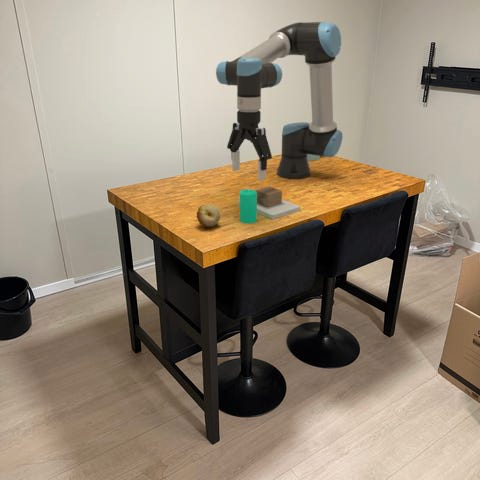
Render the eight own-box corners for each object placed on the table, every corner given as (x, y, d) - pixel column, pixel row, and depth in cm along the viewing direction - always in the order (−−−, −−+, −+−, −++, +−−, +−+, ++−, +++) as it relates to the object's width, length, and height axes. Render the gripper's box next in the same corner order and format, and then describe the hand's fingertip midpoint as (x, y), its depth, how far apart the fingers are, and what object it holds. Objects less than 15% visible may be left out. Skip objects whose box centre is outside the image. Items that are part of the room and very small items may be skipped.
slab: (237, 204, 177) (237, 200, 177) (264, 196, 185) (264, 192, 184) (272, 219, 163) (272, 215, 162) (300, 210, 171) (300, 206, 170)
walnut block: (255, 202, 174) (255, 190, 172) (269, 198, 178) (269, 186, 176) (267, 207, 169) (267, 194, 167) (281, 203, 173) (282, 190, 171)
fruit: (193, 229, 155) (192, 207, 152) (204, 220, 162) (203, 199, 159) (214, 232, 153) (213, 210, 149) (224, 223, 160) (223, 201, 156)
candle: (238, 217, 165) (238, 185, 160) (255, 216, 166) (256, 184, 161) (240, 223, 160) (240, 190, 155) (257, 223, 160) (258, 190, 155)
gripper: (216, 106, 154) (217, 168, 162) (266, 116, 136) (264, 185, 145) (234, 104, 158) (234, 165, 167) (284, 113, 140) (282, 181, 149)
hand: (248, 174), depth 156 cm, fingers open, 13 cm apart
